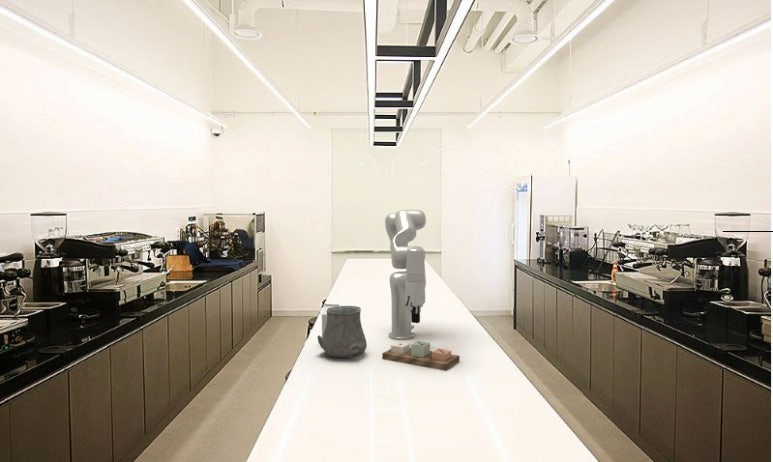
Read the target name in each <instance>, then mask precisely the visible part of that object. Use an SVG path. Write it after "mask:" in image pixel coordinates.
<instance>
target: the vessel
mask: <svg viewBox="0 0 773 462" xmlns="http://www.w3.org/2000/svg"><path fill="white" fill-rule="evenodd" d="M361 311H362V308H361V307H360V306H357V305H339V306H337V307H331V308H328V309H327V323H326V327H325V331H324V334H323V336H322V335H319V334H318V335H317V341H318V344H319V346H320V347H321V349H322V350H323V351H324V352H325V353H326V354H327V355H330V356H331V357H335V358H339V359H341V358H342V359H344V358H353V357H357V356H358V357H359V356H360V355H362V354H363V353H364V352H365V351H366V350H367V346H368V345H367V340H366V335H365V333H364V329H363V326H362V322H361V321H362V320H361Z"/></svg>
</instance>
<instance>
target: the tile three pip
mask: <svg viewBox="0 0 773 462" xmlns="http://www.w3.org/2000/svg"><path fill="white" fill-rule="evenodd" d="M432 351H433V352H432V359H433V360H439V361H444V362H446V361H448V360H449V359H451V354H452V350H450V349H443V348H437V349H435V350H432Z"/></svg>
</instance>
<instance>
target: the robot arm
mask: <svg viewBox="0 0 773 462" xmlns="http://www.w3.org/2000/svg"><path fill="white" fill-rule="evenodd" d="M426 218H427V217H426V214H425V212H424V211H423V210H421V209H401V210H398V211H396V212H395V213H389V214H387V215H386V217H385V218H384V225H385V230H386V233H387V236H388V238H389V242H390V247H389V248H390V257H391V258H390V259H391V265H392V267H393V269H396V270H401V271H395V272H393V273H391V274H390V276H389V287H390V294H391V331H390V332H389V333H388V337H389V339H393V340H399V341H400V340H401V341H402V340H404V341H405V340H410V339H413V338H414V337H415V333H414V332H413V330H414V329H415V325H414V324H419V323H420V322H421V312H422V311H421V310H422V308H423V306H424V304H425V303H426V285H427V279H426V266H425V265H426V264H425V262H426V261H425V259H426V250H424V248H423V247H422V246H417V245H414V246H413V245H412V246H411V245H410V246H409V243H410V242H413V241H414V239H416V237H417V231H419V230H422V229H423V228H424V227H425V226H426V223H427V219H426ZM402 270H405V271H402ZM412 323H414V324H412Z"/></svg>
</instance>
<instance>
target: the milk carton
mask: <svg viewBox="0 0 773 462" xmlns="http://www.w3.org/2000/svg"><path fill="white" fill-rule="evenodd" d="M337 306H340V304H338V303H334V304H333V303H324V304H323V309H322V312H321V337H322V336H323V334H324V331H325V327H326V323H327V309H328V308H331V307H337Z"/></svg>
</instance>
